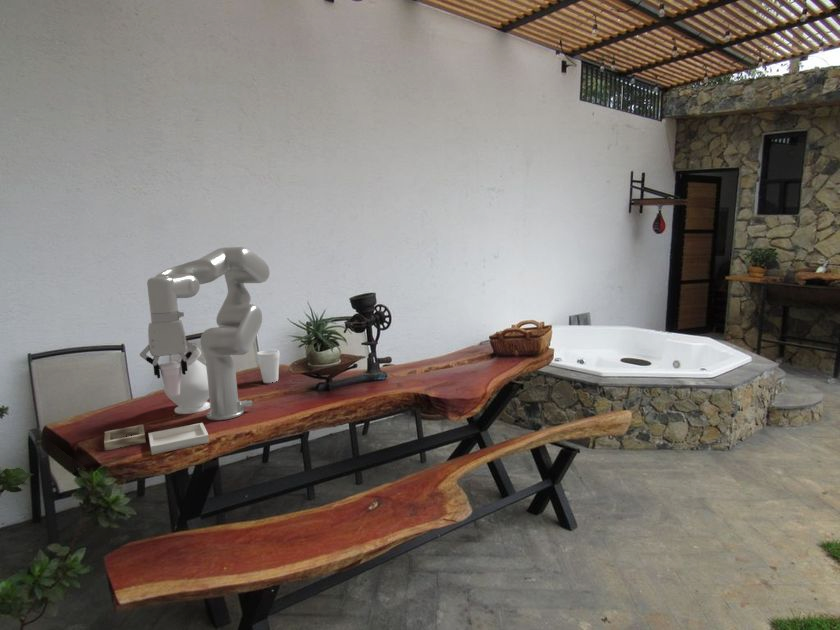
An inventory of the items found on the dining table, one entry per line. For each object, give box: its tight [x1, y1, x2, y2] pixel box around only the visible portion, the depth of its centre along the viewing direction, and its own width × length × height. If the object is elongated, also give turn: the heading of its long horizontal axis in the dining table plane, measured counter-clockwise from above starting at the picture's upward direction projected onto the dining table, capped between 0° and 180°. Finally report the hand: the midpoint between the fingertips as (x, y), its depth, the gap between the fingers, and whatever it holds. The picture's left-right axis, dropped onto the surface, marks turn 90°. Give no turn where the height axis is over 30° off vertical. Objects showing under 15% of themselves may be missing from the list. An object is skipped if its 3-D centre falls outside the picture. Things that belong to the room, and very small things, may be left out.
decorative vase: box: [163, 340, 210, 415], centre depth 194 cm, size 18×18×25 cm
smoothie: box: [159, 355, 182, 397], centre depth 160 cm, size 6×6×14 cm
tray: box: [147, 422, 210, 456], centre depth 164 cm, size 16×13×2 cm
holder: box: [103, 424, 147, 451], centre depth 166 cm, size 11×11×2 cm
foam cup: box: [256, 349, 281, 384], centre depth 229 cm, size 10×9×13 cm
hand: (171, 375), depth 161 cm, fingers closed on smoothie, 6 cm apart
